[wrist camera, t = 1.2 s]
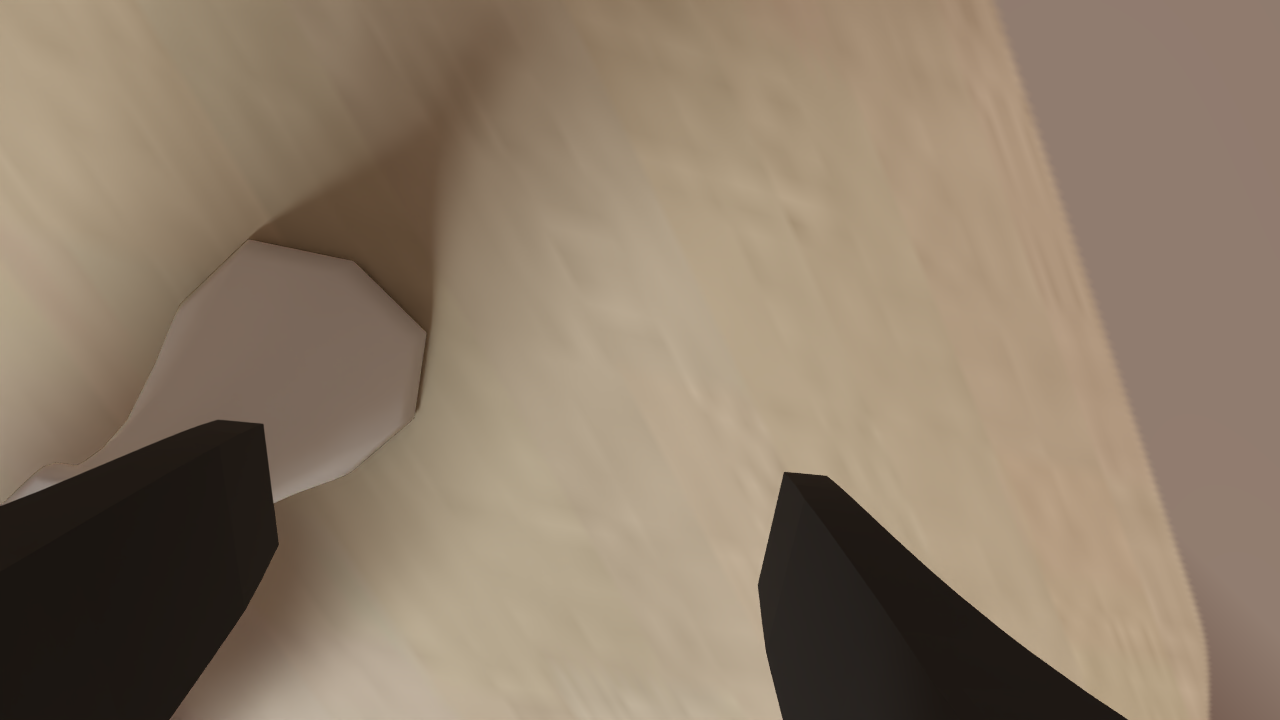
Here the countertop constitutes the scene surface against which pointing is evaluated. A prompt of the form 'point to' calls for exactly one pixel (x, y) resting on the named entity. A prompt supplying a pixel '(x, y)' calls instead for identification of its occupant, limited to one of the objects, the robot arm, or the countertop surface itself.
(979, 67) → the countertop surface
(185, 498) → the robot arm
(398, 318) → the flask
